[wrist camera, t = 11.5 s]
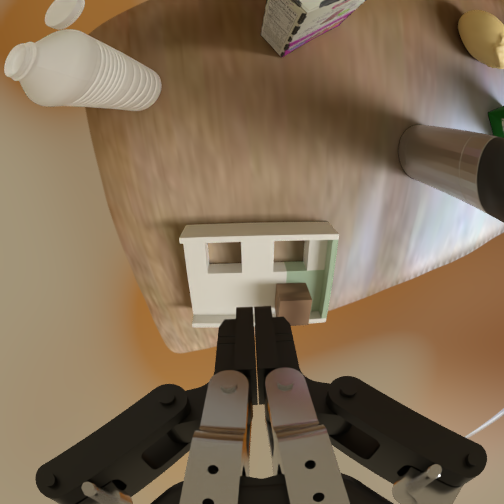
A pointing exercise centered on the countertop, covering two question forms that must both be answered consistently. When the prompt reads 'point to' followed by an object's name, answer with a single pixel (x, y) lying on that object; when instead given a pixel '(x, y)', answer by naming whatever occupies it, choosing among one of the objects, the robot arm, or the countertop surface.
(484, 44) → the sculpture
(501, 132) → the milk carton
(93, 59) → the water bottle
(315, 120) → the countertop surface
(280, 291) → the walnut block
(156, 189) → the countertop surface
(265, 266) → the track
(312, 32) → the candy bar box
